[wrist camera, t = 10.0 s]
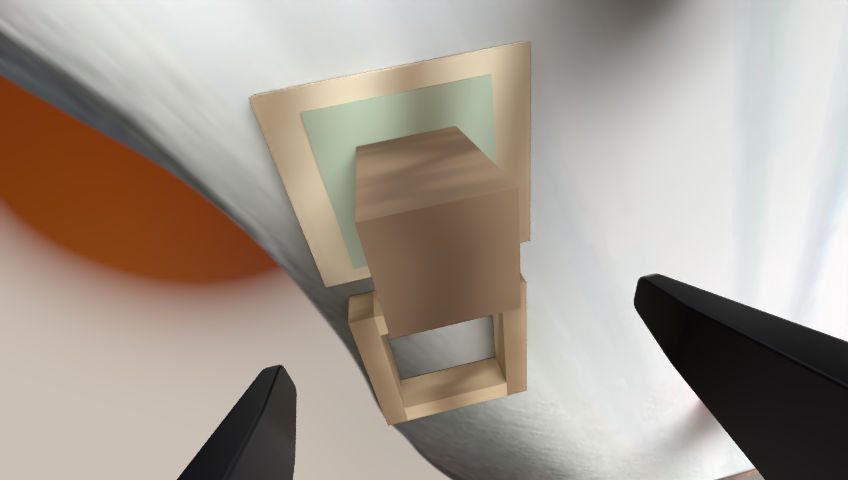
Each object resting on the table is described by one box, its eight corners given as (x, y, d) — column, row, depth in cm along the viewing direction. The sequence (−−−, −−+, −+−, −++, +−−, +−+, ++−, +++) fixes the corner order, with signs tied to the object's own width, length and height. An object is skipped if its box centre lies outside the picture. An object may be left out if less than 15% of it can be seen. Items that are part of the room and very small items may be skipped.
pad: (522, 41, 17) (532, 42, 16) (523, 232, 23) (531, 242, 22) (254, 94, 16) (247, 98, 15) (327, 277, 22) (325, 289, 21)
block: (455, 125, 17) (518, 187, 10) (465, 213, 20) (520, 308, 13) (356, 146, 17) (354, 222, 10) (379, 232, 20) (390, 339, 13)
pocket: (511, 259, 24) (526, 281, 21) (514, 364, 30) (526, 390, 27) (349, 296, 23) (348, 323, 21) (385, 396, 29) (388, 425, 27)
